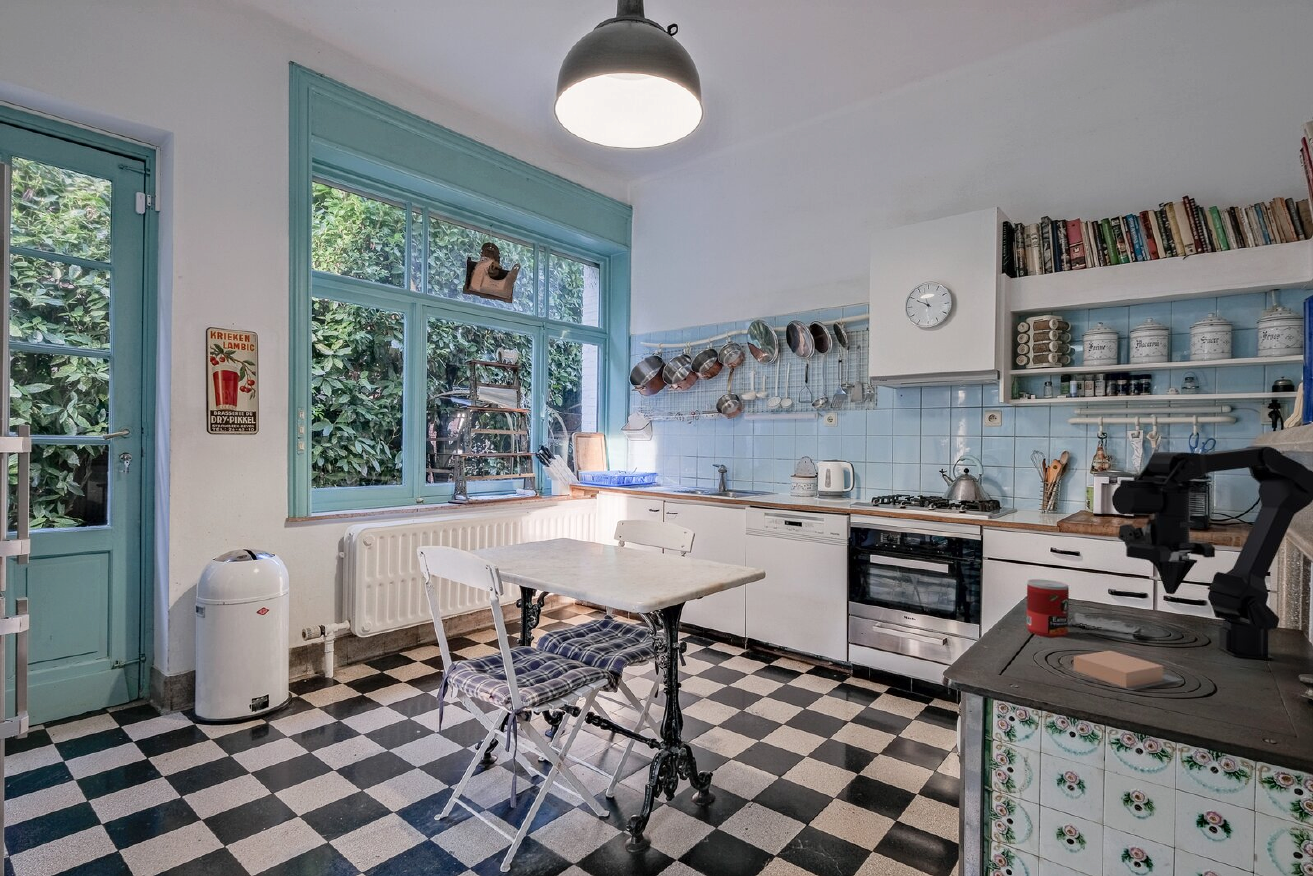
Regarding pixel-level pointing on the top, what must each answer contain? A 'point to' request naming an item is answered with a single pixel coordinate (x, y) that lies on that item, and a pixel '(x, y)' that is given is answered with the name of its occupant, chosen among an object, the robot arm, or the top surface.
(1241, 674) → the top surface
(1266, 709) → the top surface
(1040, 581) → the canned food
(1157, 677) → the terracotta tile
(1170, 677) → the rubber mat
